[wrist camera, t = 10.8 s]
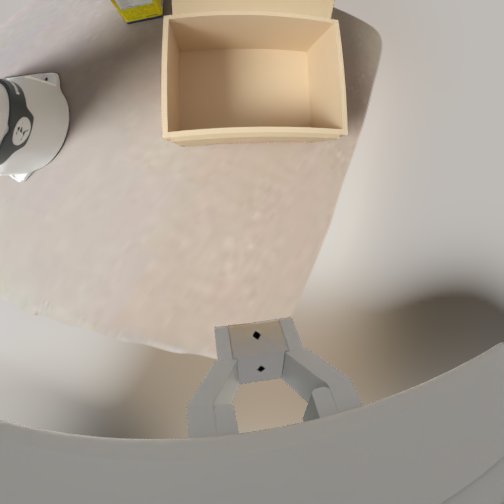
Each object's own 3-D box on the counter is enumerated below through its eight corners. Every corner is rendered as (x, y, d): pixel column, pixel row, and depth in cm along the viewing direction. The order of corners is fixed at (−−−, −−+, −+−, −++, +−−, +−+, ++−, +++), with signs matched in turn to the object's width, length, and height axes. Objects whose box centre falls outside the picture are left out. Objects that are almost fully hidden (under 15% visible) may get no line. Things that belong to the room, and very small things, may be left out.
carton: (177, 147, 39) (162, 143, 28) (176, 50, 34) (163, 15, 23) (313, 143, 41) (348, 139, 30) (308, 50, 36) (338, 20, 25)
